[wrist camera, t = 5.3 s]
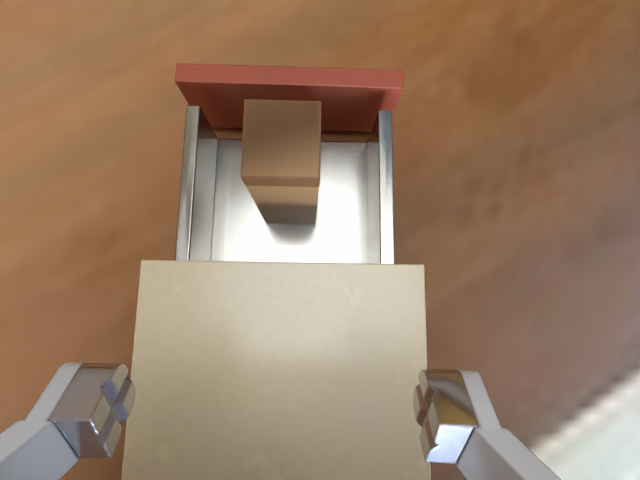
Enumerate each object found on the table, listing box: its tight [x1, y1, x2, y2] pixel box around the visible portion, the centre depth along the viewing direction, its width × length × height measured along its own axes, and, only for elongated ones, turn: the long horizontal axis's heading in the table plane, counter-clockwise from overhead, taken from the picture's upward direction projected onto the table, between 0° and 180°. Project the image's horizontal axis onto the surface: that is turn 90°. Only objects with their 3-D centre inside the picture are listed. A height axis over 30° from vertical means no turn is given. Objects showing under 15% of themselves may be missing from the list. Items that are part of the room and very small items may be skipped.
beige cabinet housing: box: [121, 260, 431, 480], centre depth 22 cm, size 14×15×8 cm
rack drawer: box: [175, 63, 404, 264], centre depth 24 cm, size 14×13×6 cm
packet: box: [240, 99, 321, 224], centre depth 21 cm, size 4×3×10 cm
